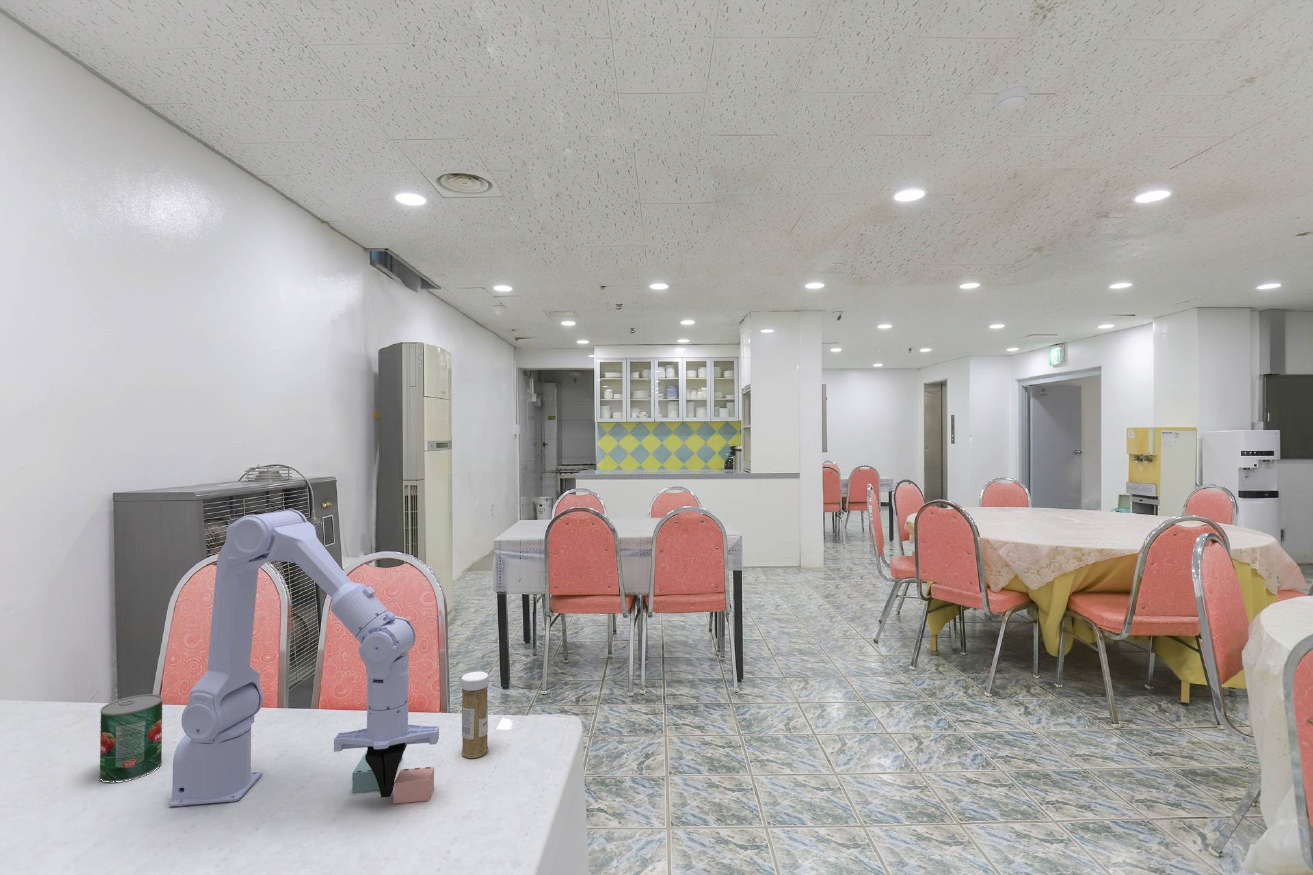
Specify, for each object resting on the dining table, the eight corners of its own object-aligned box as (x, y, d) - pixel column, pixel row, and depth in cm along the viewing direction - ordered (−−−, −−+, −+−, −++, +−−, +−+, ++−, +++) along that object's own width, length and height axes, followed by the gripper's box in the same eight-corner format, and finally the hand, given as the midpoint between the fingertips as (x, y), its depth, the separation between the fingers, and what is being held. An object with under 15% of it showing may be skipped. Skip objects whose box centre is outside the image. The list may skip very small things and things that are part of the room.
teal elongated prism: (352, 792, 96) (352, 772, 96) (371, 760, 106) (371, 742, 106) (386, 789, 97) (386, 769, 97) (402, 758, 107) (402, 739, 107)
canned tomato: (172, 764, 104) (173, 698, 105) (115, 787, 97) (116, 716, 98) (145, 754, 108) (146, 690, 108) (88, 776, 101) (89, 708, 101)
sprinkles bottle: (491, 754, 108) (492, 676, 108) (465, 761, 105) (465, 681, 106) (483, 744, 112) (483, 668, 112) (457, 750, 109) (458, 673, 109)
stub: (393, 803, 93) (394, 782, 93) (400, 788, 97) (400, 768, 97) (428, 800, 94) (429, 779, 94) (434, 786, 98) (434, 766, 98)
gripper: (326, 717, 89) (325, 813, 89) (433, 710, 91) (432, 804, 91) (343, 697, 96) (342, 787, 96) (441, 691, 98) (441, 778, 98)
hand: (387, 793), depth 94 cm, fingers closed
